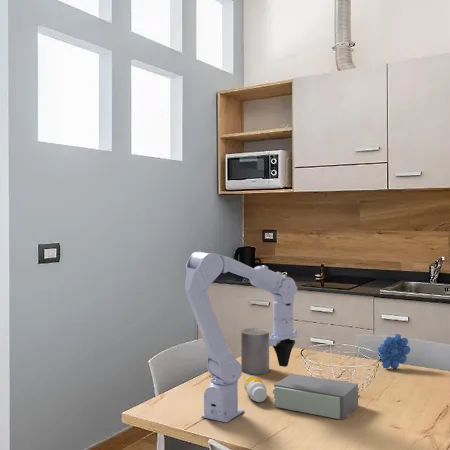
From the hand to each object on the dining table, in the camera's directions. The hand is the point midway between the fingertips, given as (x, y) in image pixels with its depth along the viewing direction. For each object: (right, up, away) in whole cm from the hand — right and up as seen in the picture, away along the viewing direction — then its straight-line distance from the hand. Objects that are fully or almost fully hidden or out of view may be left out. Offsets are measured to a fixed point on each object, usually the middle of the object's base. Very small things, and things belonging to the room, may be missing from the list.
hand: (283, 365), depth 152 cm
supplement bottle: (-8, -8, +8) cm, 14 cm away
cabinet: (+9, -10, -3) cm, 14 cm away
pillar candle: (-6, -10, +32) cm, 34 cm away
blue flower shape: (+42, -10, +33) cm, 54 cm away
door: (+5, -10, -8) cm, 14 cm away
